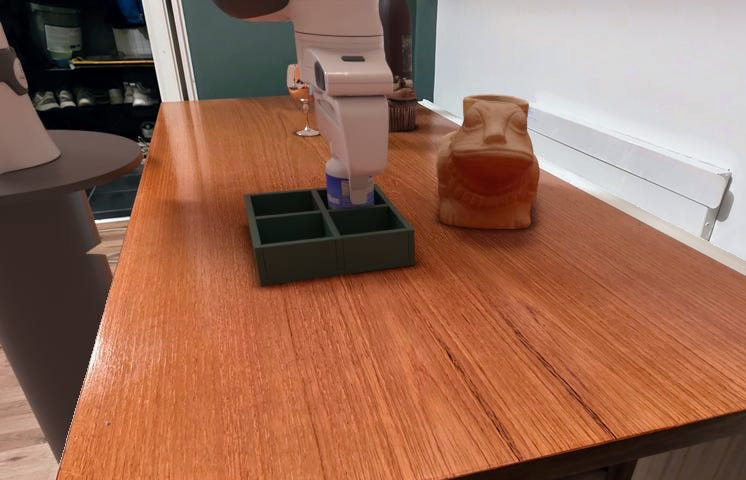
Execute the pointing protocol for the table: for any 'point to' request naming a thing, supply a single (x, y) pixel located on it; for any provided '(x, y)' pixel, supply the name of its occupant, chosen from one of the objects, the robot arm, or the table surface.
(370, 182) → the pill bottle
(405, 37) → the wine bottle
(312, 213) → the organiser
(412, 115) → the cupcake
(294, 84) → the wineglass
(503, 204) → the ceramic vessel
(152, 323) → the table surface
